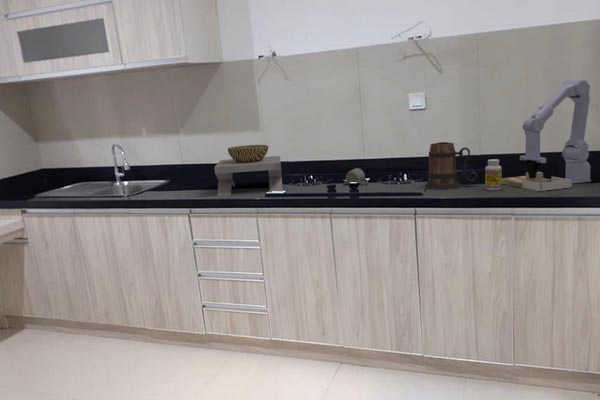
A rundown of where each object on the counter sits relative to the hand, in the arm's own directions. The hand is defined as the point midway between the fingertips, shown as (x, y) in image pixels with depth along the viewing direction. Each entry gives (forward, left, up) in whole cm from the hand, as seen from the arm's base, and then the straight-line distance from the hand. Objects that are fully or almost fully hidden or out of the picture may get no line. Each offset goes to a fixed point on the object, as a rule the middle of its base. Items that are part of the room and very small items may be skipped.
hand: (532, 178), depth 233 cm
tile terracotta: (0, +4, -3) cm, 5 cm away
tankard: (+27, -21, -4) cm, 35 cm away
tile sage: (-6, -6, -2) cm, 9 cm away
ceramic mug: (+60, -54, -4) cm, 81 cm away
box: (-3, +5, -4) cm, 7 cm away
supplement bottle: (+16, -4, -4) cm, 17 cm away
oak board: (-3, -8, -4) cm, 10 cm away
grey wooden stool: (+110, -76, -4) cm, 134 cm away
